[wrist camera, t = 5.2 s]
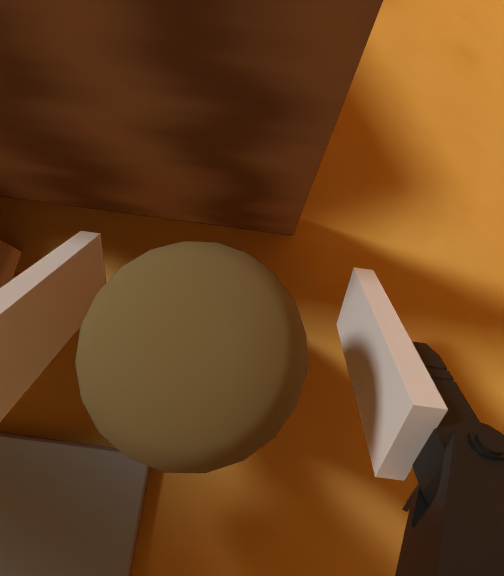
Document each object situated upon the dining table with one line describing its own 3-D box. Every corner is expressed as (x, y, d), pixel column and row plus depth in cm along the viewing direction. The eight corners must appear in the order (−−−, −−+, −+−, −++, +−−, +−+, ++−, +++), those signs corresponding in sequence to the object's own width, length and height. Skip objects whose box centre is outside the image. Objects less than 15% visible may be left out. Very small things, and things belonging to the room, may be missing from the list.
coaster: (-115, 665, 14) (-131, 678, 13) (-39, 427, 16) (-49, 429, 15) (107, 694, 14) (101, 708, 13) (152, 453, 16) (148, 456, 15)
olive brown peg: (242, 451, 16) (249, 604, 5) (135, 387, 17) (-54, 412, 6) (299, 339, 17) (393, 284, 7) (198, 284, 18) (139, 153, 7)
